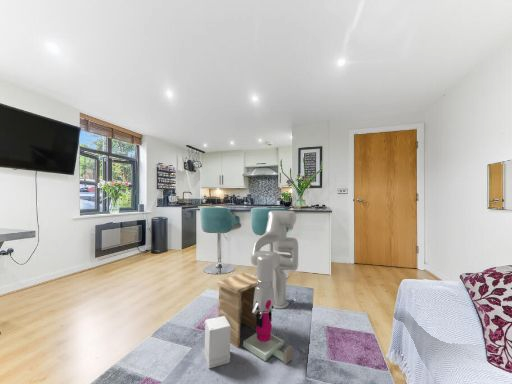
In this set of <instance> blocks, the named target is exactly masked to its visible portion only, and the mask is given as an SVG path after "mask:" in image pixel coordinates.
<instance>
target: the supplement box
mask: <svg viewBox="0 0 512 384" xmlns="http://www.w3.org/2000/svg"><path fill="white" fill-rule="evenodd" d="M204 325H205V326H204V327H205V328H204V358H205V361H206V364H207V368H208V369H212V368H216V367H219V366H222V365H226V364H229V363H230V362H231V343H230V330H231V326H230V324H229V323H228V321H227V319H226V317H225V316H221V317H218V316H217V317H212V318H207V319H205V321H204Z"/></svg>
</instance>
